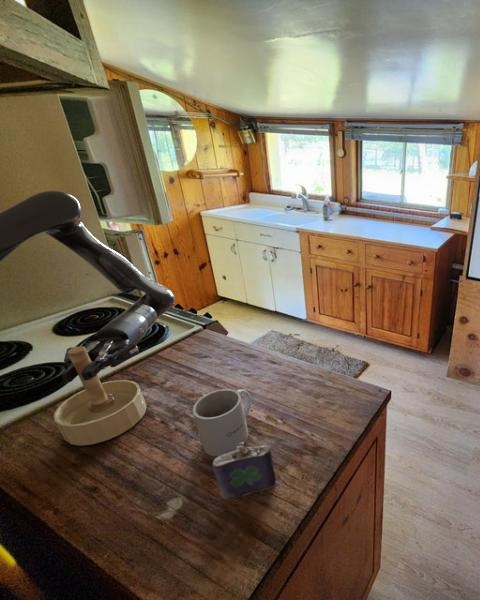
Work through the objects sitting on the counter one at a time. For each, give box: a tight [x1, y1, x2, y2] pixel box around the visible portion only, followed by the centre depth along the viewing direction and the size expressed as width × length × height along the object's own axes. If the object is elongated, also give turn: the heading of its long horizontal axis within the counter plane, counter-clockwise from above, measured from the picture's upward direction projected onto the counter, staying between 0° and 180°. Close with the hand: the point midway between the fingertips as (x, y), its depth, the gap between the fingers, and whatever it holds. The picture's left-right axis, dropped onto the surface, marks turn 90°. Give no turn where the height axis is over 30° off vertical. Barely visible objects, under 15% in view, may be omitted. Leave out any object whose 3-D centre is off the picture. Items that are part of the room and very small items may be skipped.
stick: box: [68, 345, 115, 413], centre depth 68 cm, size 4×4×15 cm
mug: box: [192, 388, 252, 457], centre depth 69 cm, size 12×9×10 cm
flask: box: [212, 442, 277, 501], centre depth 58 cm, size 9×3×11 cm, turn 110°
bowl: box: [53, 379, 147, 447], centre depth 71 cm, size 14×14×6 cm
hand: (75, 377), depth 64 cm, fingers closed on stick, 2 cm apart
